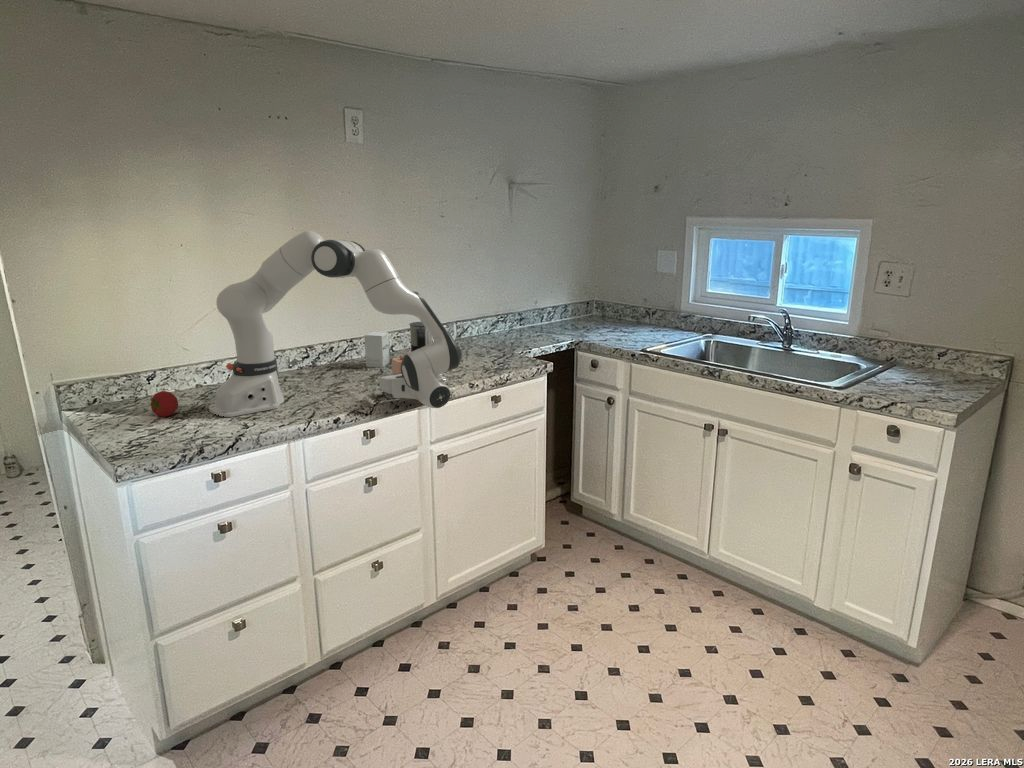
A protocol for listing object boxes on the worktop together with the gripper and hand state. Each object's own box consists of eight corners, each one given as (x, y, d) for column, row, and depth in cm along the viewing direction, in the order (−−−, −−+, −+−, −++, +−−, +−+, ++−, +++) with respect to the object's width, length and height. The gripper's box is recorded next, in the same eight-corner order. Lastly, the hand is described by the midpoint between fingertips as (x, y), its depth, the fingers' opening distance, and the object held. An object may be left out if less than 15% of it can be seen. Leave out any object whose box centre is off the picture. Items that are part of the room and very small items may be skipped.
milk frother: (407, 357, 269) (406, 322, 264) (443, 354, 275) (442, 319, 271) (418, 365, 256) (417, 328, 252) (456, 361, 263) (455, 325, 259)
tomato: (174, 385, 199) (149, 386, 192) (186, 403, 196) (161, 405, 190) (164, 402, 202) (139, 404, 196) (175, 421, 200) (150, 424, 193)
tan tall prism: (399, 394, 213) (397, 359, 210) (393, 390, 218) (391, 355, 215) (416, 392, 216) (414, 356, 213) (409, 387, 221) (407, 353, 218)
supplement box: (383, 367, 253) (381, 335, 249) (365, 366, 254) (363, 335, 251) (390, 363, 260) (388, 332, 256) (373, 362, 261) (371, 331, 258)
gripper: (449, 370, 209) (431, 361, 221) (388, 379, 199) (372, 369, 210) (449, 389, 211) (431, 379, 222) (389, 399, 201) (374, 388, 212)
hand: (402, 374), depth 216 cm, fingers closed on tan tall prism, 6 cm apart
